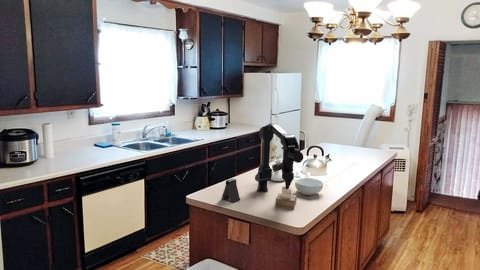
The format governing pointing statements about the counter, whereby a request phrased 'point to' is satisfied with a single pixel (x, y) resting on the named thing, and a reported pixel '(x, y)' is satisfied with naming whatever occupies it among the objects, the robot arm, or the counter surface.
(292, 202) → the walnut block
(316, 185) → the cereal bowl
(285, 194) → the maple cube
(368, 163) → the counter surface
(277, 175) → the flower in vase
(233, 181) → the dark grey tapered block
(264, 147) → the robot arm
